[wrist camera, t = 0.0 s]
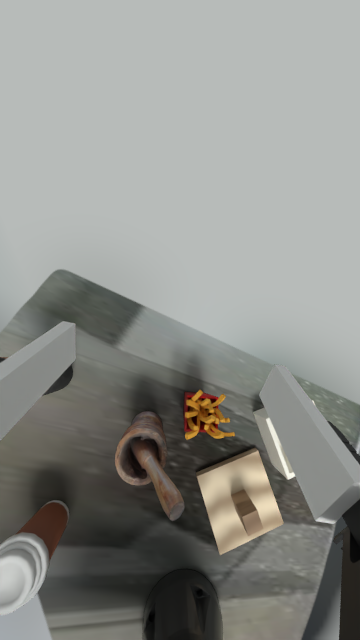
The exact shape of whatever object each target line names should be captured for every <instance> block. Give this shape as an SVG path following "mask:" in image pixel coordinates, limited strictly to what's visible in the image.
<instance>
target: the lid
mask: <svg viewBox="0 0 360 640" xmlns="http://www.w3.org/2000/svg"><path fill="white" fill-rule="evenodd" d="M196 475H197V478H198V482H199V485H200V489H201V492H202V495H203V499H204V502H205V505H206V509H207V512H208V516H209V519H210V522H211V526H212V529H213V533H214V536H215V539H216V543H217V546H218V550H219V553H220V555H222V554H224V553H226V552H228V551H230V550H232V549H234V548H236V547H238V546H240V545H242V544H244V543H246V542H248V541H250V540H252V539H254V538H256V537H258V536H260V535H262V534H264V533H266V532H268V531H270V530H272V529H274V528H276V527H278V526H280V525H282V524H284V523H283V520H282V517H281V514H280V511H279V509H278V506H277V503H276V500H275V497H274V494H273V492H272V489H271V486H270V483H269V480H268V477H267V475H266V472H265V469H264V466H263V463H262V460H261V458H260V455H259V452H258V450H257V449H256V448H253V449H251V450H249V451H246V452H244V453H241V454H239V455H237V456H234V457H232V458H230V459H227V460H225V461H222V462H220V463H218V464H215V465H213V466H211V467H208V468H206V469H203V470H201V471H199V472H196Z"/></svg>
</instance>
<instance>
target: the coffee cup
mask: <svg viewBox="0 0 360 640" xmlns="http://www.w3.org/2000/svg"><path fill="white" fill-rule="evenodd" d="M68 520H69V509H68V507H67V506H66V504H65V503H63V502H62V501H60V500H52V501H49V502H47V503H46V504H45V505H44V506H42V507H41V509H40V510H39V511H38V512H37V513H36V514H35V515H34V516H33V517H32V518H31V519H30V520H29V521H28V522H27V523H26V524H25V525H24V526H23V527H22V528H21V529H20V530H19V531H18V532H17V533H16V534H15V535H13V536H10V537H9V538H8V539H6V540H5V541H4V542H3V543H1V544H0V615H6V614H8V613H11V612H14V611H15V610H16V609H17V608H19V607H21V606H24V605H25V604H26V603H27V602H28V601H30V600H31V599H32V598H33V597H34V596H35V595H36V594H37V592H38V590H39V589H40V587H41V585H42V584H43V582H44V580H45V578H46V576H47V572H48V567H49V561H50V559H51V557H52V555H53V553H54V551H55V549H56V546H57V544H58V542H59V540H60V538H61V536H62V534H63V532H64V530H65V528H66V526H67V524H68Z"/></svg>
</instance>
